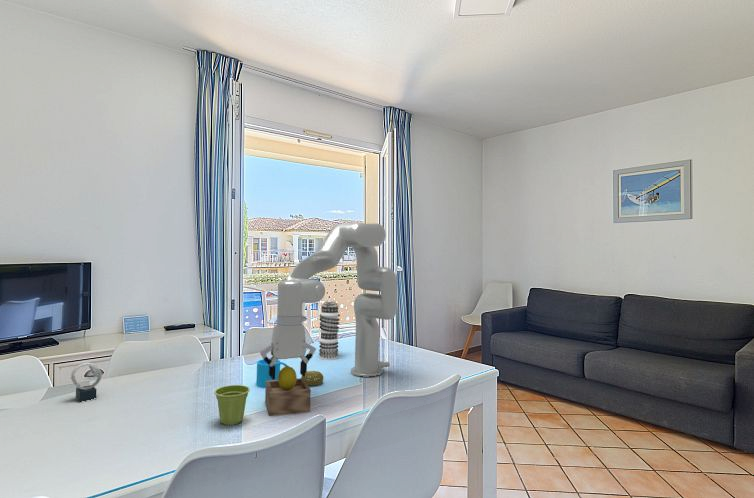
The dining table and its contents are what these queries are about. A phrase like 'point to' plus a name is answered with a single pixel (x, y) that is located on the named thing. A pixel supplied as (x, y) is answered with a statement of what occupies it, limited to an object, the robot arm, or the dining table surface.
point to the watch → (86, 391)
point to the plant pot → (231, 403)
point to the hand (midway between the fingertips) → (287, 376)
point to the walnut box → (287, 398)
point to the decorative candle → (329, 331)
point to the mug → (266, 372)
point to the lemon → (287, 378)
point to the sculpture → (313, 378)
